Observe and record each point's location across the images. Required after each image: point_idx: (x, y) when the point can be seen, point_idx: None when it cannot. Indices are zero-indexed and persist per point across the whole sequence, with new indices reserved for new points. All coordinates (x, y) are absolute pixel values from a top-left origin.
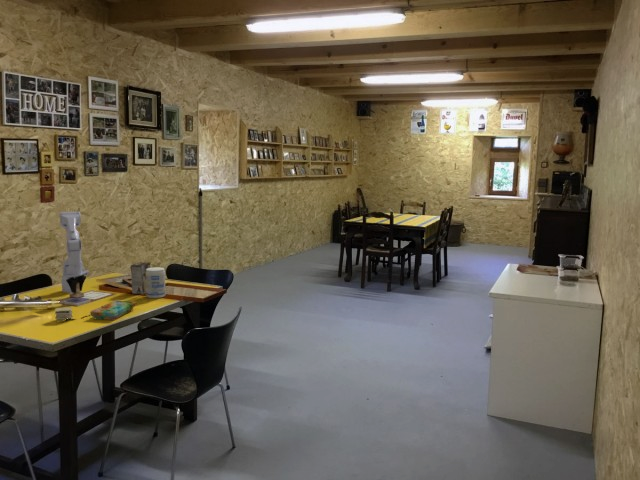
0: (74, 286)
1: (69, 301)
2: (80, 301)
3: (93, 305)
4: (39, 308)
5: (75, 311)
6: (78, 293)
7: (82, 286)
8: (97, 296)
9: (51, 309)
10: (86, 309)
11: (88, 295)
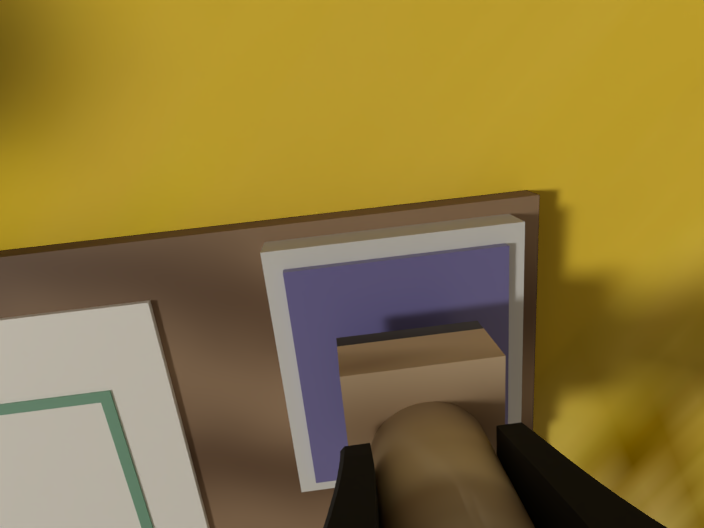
0: (646, 518)
1: (507, 394)
2: (450, 257)
3: (300, 130)
4: (667, 524)
5: (644, 82)
6: (432, 403)
7: (333, 512)
8: (23, 398)
9: (661, 407)
10: (505, 27)
11: (81, 525)
